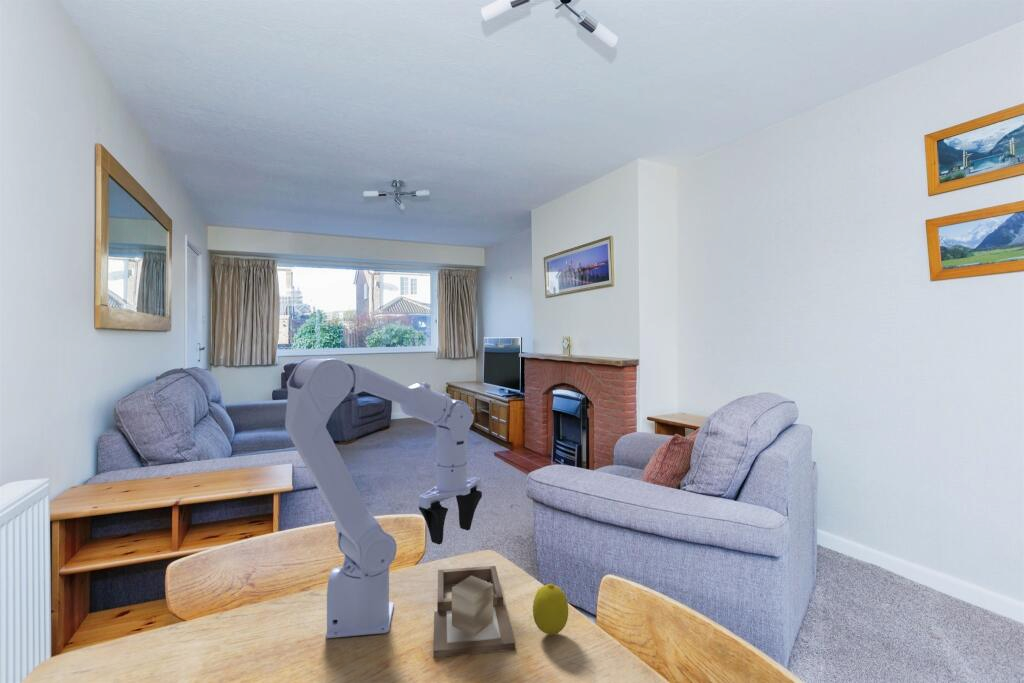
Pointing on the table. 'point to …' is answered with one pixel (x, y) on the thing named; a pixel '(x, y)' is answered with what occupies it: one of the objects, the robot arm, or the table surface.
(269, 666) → the table surface
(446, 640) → the brown divided tray
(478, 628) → the block
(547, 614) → the lemon
